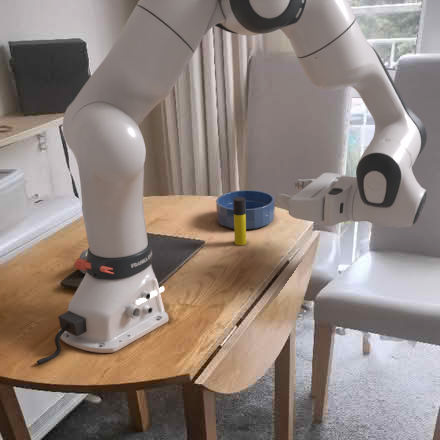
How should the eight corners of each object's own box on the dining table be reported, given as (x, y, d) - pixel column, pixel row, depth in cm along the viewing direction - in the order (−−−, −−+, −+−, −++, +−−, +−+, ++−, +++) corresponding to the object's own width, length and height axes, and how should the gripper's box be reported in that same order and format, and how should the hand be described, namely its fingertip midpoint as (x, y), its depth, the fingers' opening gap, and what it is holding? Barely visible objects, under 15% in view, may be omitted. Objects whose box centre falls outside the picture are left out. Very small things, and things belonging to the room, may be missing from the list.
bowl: (258, 234, 148) (257, 213, 145) (206, 225, 155) (205, 205, 151) (283, 214, 159) (284, 194, 155) (234, 207, 165) (234, 187, 162)
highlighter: (242, 246, 143) (241, 201, 136) (232, 244, 144) (230, 199, 138) (248, 241, 145) (247, 197, 138) (238, 240, 146) (236, 196, 140)
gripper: (364, 169, 130) (306, 162, 136) (329, 198, 116) (266, 190, 122) (361, 197, 134) (305, 190, 140) (327, 229, 120) (267, 219, 126)
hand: (287, 190), depth 131 cm, fingers open, 8 cm apart
